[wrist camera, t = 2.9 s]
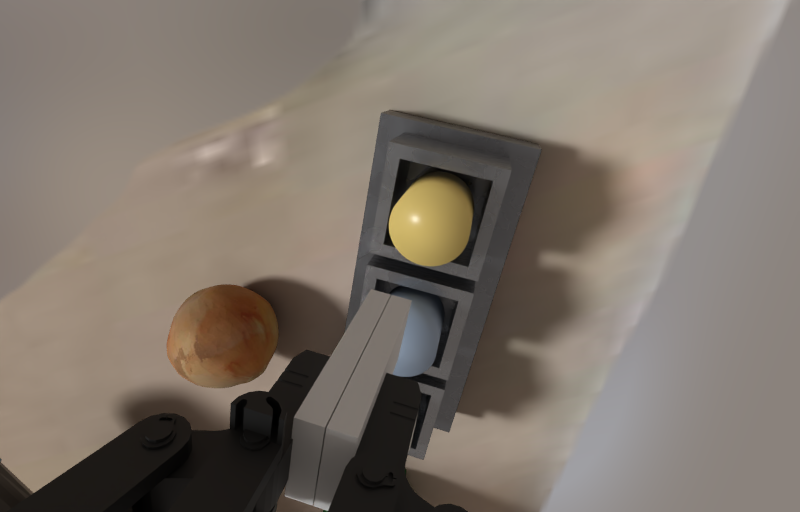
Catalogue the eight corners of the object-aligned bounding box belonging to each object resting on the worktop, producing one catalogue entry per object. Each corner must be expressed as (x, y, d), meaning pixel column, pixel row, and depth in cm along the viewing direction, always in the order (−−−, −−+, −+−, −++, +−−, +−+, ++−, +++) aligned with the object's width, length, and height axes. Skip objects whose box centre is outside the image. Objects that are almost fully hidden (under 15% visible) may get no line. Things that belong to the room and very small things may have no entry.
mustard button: (398, 229, 32) (382, 254, 28) (412, 164, 30) (396, 179, 26) (464, 246, 32) (458, 275, 27) (482, 180, 30) (479, 199, 25)
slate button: (378, 328, 36) (361, 365, 31) (389, 276, 34) (372, 307, 29) (436, 345, 35) (427, 385, 31) (451, 293, 33) (443, 327, 29)
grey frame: (343, 377, 46) (315, 433, 39) (390, 110, 35) (361, 118, 28) (452, 411, 45) (443, 474, 38) (538, 143, 34) (548, 162, 26)
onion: (268, 366, 48) (215, 432, 39) (195, 311, 47) (124, 367, 38) (312, 310, 44) (264, 371, 35) (233, 250, 43) (162, 296, 34)
